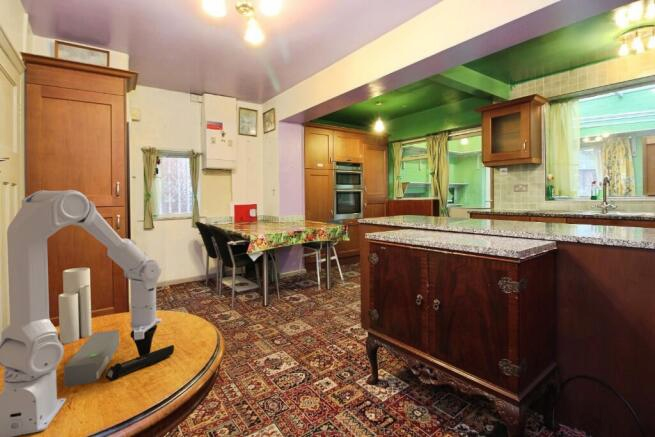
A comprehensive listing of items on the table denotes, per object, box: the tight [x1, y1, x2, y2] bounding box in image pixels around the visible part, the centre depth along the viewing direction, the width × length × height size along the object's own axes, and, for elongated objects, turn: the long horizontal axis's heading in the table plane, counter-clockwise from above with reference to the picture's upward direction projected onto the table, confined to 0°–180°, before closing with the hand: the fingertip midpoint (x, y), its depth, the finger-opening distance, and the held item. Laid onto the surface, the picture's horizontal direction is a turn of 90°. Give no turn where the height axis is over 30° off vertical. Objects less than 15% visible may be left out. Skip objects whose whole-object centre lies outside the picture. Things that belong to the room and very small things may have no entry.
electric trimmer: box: [105, 344, 175, 382], centre depth 80 cm, size 4×16×3 cm, turn 144°
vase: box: [58, 267, 92, 345], centre depth 97 cm, size 11×7×20 cm, turn 30°
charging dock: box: [63, 329, 120, 388], centre depth 81 cm, size 20×6×5 cm, turn 21°
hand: (144, 355), depth 83 cm, fingers closed
